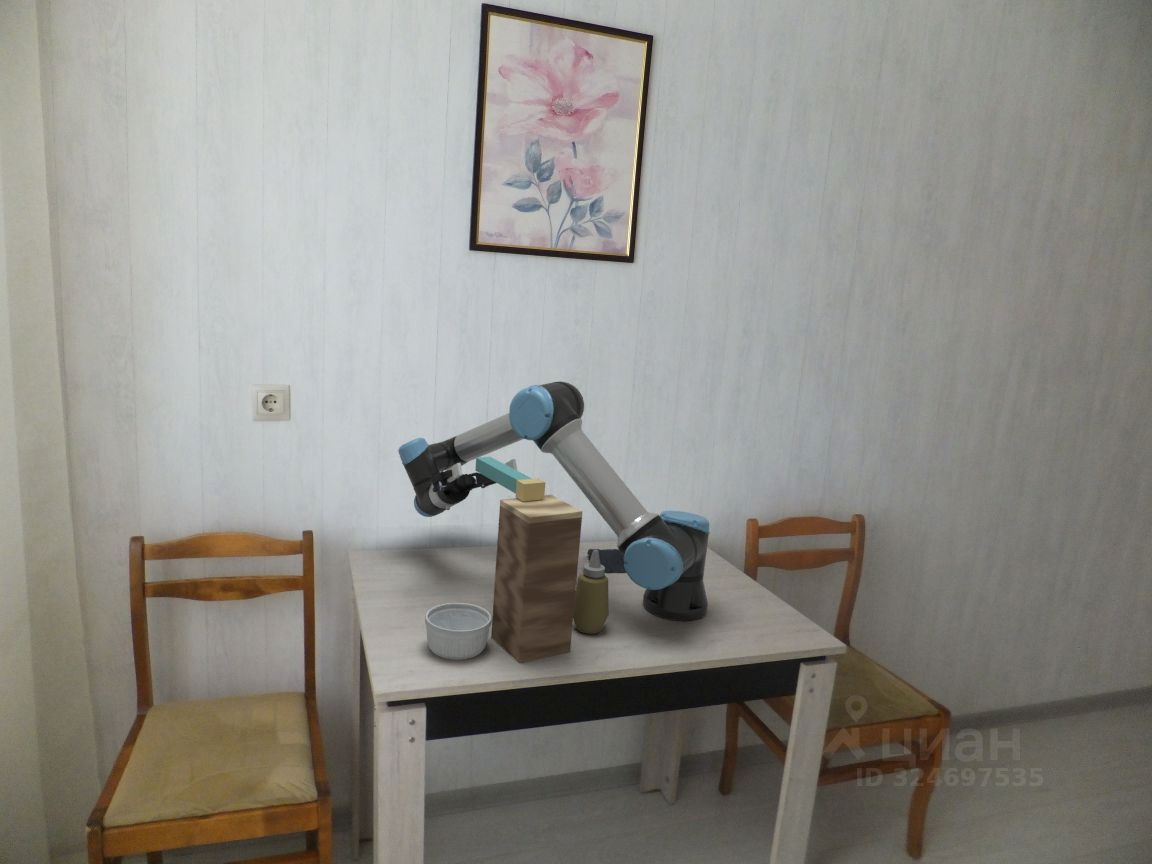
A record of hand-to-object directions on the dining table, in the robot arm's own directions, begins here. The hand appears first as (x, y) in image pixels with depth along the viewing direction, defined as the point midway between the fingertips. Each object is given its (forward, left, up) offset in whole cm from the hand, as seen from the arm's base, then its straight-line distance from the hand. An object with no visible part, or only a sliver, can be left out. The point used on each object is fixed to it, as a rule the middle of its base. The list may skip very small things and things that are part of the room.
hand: (488, 466), depth 185 cm
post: (-16, +16, -32) cm, 39 cm away
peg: (-6, +6, -2) cm, 9 cm away
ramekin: (-3, +23, -32) cm, 40 cm away
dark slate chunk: (-28, -40, -33) cm, 59 cm away
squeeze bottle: (-26, +4, -32) cm, 42 cm away
